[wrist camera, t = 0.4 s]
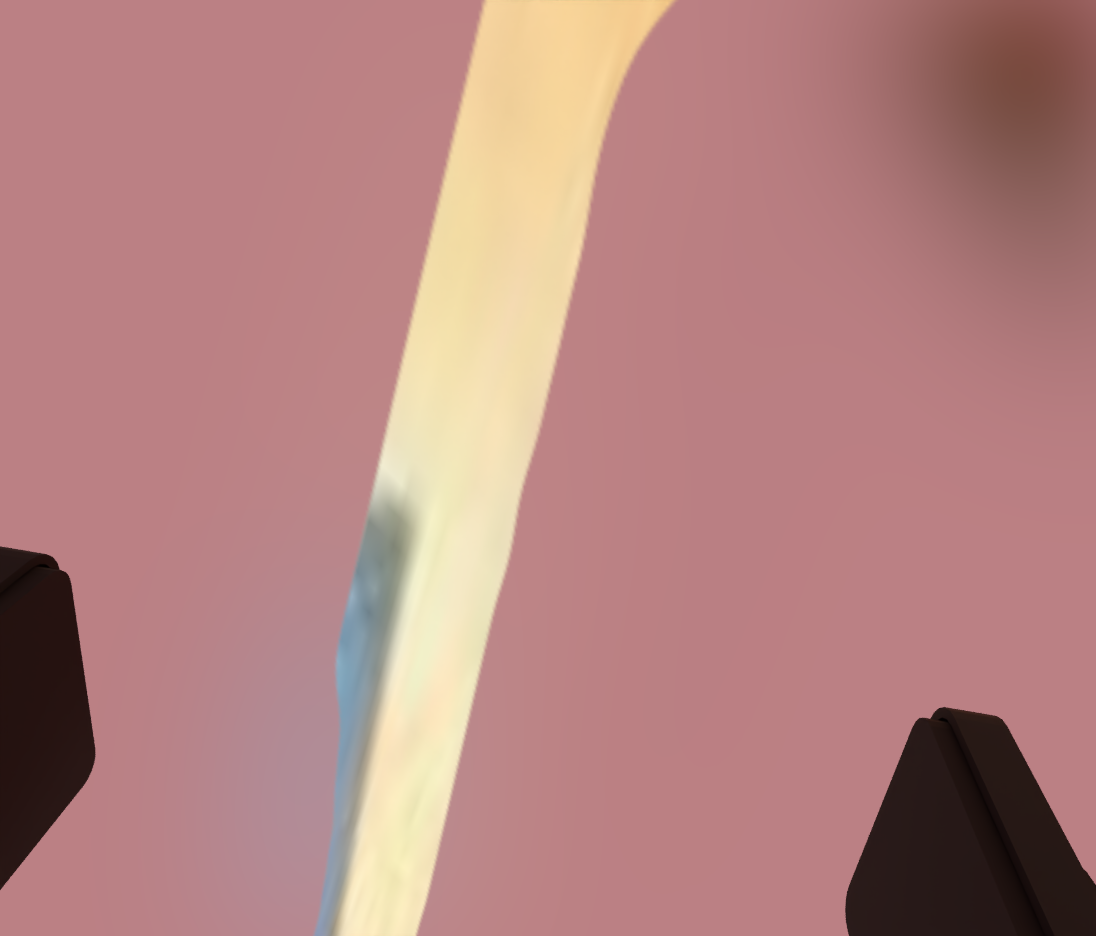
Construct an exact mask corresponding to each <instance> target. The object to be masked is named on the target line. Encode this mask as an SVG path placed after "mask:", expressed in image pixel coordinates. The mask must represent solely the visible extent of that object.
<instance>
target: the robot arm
mask: <svg viewBox="0 0 1096 936" xmlns="http://www.w3.org/2000/svg"><path fill="white" fill-rule="evenodd" d="M94 761H95V744H94V737H93V730H92V723H91V716H90V710H89V703H88V696H87V689H86V682H85V675H84V668H83V661H82V655H81V648H80V641H79V634H78V627H77V621H76V613H75V607H74V600H73V593H72V586H71V581H70V578H69V576H68V574H67V573H66V572H64V571H62V570H59V566H58V563H57V562H56V561H55V559H54V558H53V557H51V556H49V555H47V554H41V553H36V552H30V551H24V550H18V549H12V548H6V547H0V890H1V888H2V887H3V886H4V885H5V883H6V882H7V881H8V880H9V878H10V877H11V876H12V875H13V873H14V872H15V871H16V870H17V868H18V867H19V866H20V865H21V863H22V862H23V861H24V860H25V858H26V857H27V856H28V855H29V853H30V852H31V851H32V850H33V848H34V847H35V846H36V845H37V843H38V842H39V841H40V840H41V838H42V837H43V836H44V835H45V833H46V832H47V831H48V829H49V828H50V827H51V826H52V824H53V823H54V822H55V821H56V820H57V818H58V817H59V816H60V815H61V813H62V812H63V811H64V810H65V808H66V807H67V806H68V804H69V803H70V802H71V801H72V799H73V798H74V797H75V796H76V794H77V793H78V792H79V791H80V789H81V788H82V787H83V786H84V784H85V783H86V781H87V780H88V777H89V775H90V773H91V771H92V768H93V765H94ZM845 912H846V923H847V929H848V934H849V936H1096V885H1095V883H1094V882H1093V881H1092V879H1091V878H1090V876H1089V875H1088V873H1087V872H1086V871H1085V870H1084V869H1083V868H1082V866H1081V864H1080V862H1079V860H1078V858H1077V857H1076V855H1075V853H1074V851H1073V849H1072V847H1071V845H1070V843H1069V841H1068V840H1067V838H1066V836H1065V834H1064V832H1063V830H1062V828H1061V826H1060V825H1059V823H1058V821H1057V819H1056V817H1055V815H1054V813H1053V811H1052V810H1051V808H1050V806H1049V804H1048V802H1047V800H1046V798H1045V797H1044V795H1043V793H1042V791H1041V789H1040V787H1039V785H1038V783H1037V781H1036V779H1035V778H1034V776H1033V774H1032V772H1031V770H1030V768H1029V766H1028V765H1027V763H1026V761H1025V759H1024V757H1023V755H1022V753H1021V752H1020V750H1019V748H1018V746H1017V744H1016V742H1015V740H1014V738H1013V737H1012V734H1011V733H1010V731H1009V729H1008V727H1007V725H1006V724H1005V723H1004V721H1003V720H1002V719H1000V718H999V717H997V716H993V715H987V714H982V713H975V712H970V711H964V710H958V709H952V708H946V707H943V708H939V709H937V710H936V711H935V713H934V714H933V715H932V717H931V719H928V718H919V719H918V720H917V721H916V722H915V724H914V726H913V728H912V730H911V732H910V735H909V737H908V740H907V742H906V745H905V748H904V750H903V752H902V755H901V758H900V760H899V763H898V765H897V767H896V770H895V772H894V775H893V777H892V780H891V782H890V785H889V788H888V790H887V793H886V795H885V797H884V800H883V802H882V805H881V807H880V810H879V812H878V815H877V817H876V820H875V822H874V825H873V827H872V830H871V832H870V835H869V837H868V840H867V843H866V845H865V847H864V850H863V853H862V855H861V857H860V860H859V862H858V865H857V867H856V870H855V872H854V875H853V877H852V880H851V883H850V885H849V888H848V891H847V896H846V908H845Z"/></svg>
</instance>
